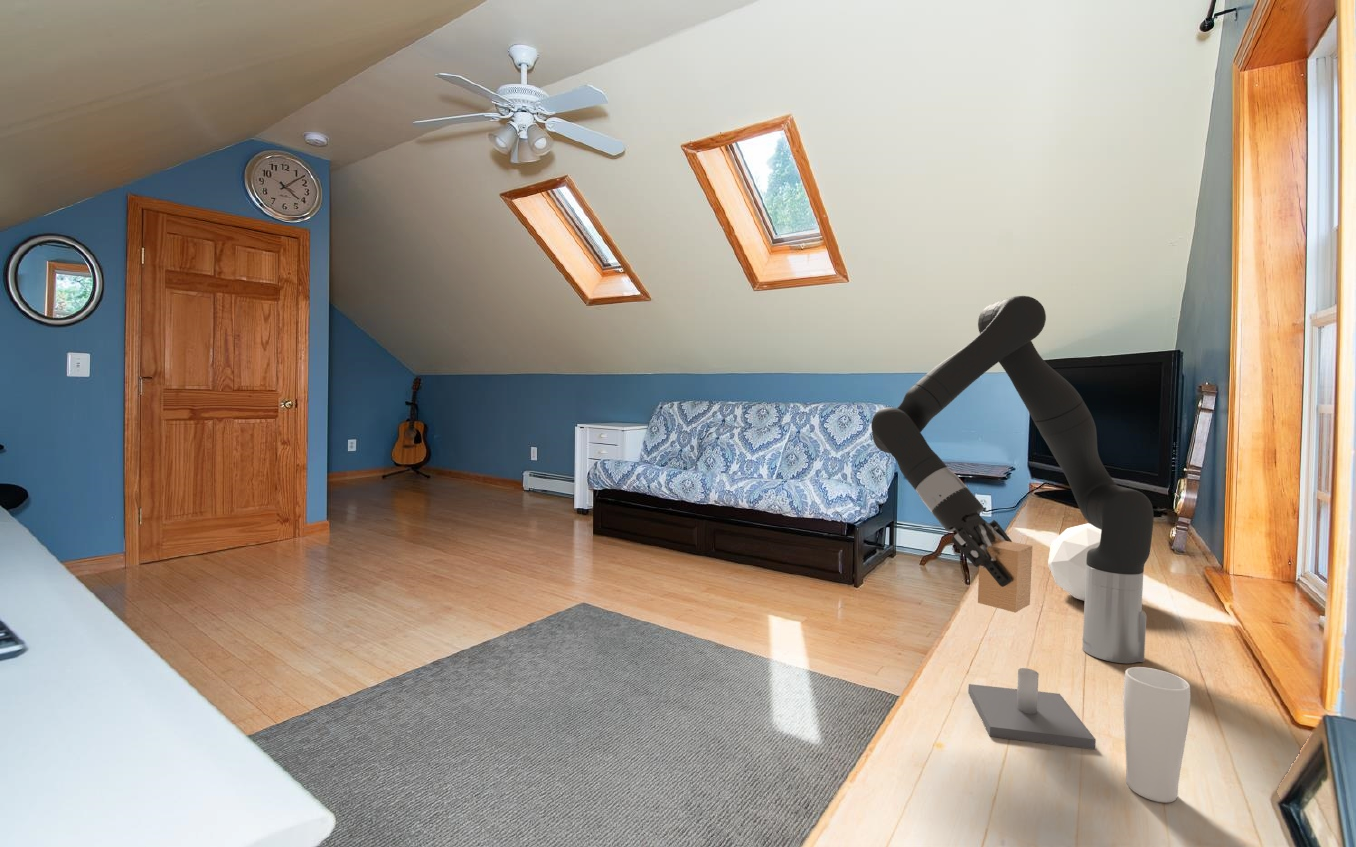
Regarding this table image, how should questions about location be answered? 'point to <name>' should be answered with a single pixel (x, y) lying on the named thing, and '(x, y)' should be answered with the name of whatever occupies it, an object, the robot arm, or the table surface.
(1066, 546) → the geometric orb
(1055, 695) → the post base
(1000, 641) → the table surface
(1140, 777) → the drinking glass
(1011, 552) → the wooden block
